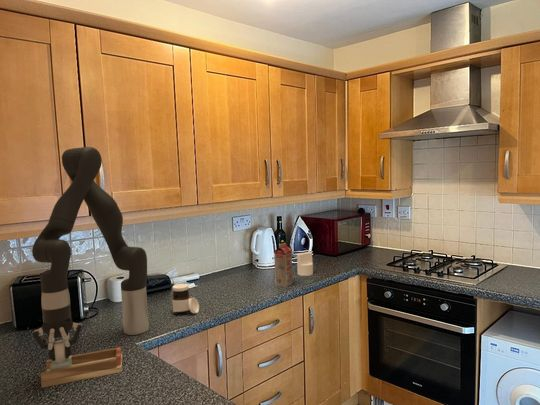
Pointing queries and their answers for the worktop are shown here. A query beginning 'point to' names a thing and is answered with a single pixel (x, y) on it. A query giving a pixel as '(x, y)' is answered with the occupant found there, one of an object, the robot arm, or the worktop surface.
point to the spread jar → (183, 300)
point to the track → (84, 367)
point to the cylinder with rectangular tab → (304, 264)
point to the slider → (60, 356)
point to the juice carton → (283, 265)
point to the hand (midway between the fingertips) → (60, 358)
